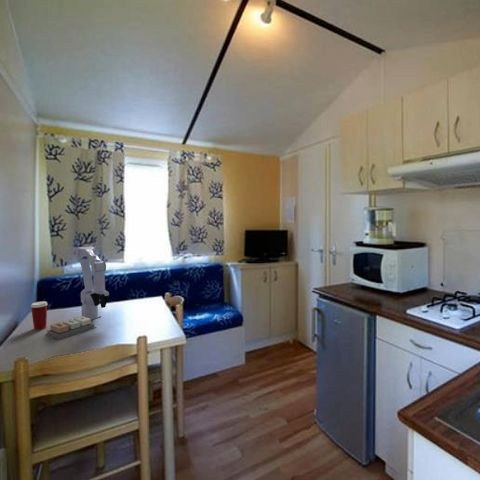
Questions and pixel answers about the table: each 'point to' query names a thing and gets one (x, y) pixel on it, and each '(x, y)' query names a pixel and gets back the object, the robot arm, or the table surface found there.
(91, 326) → the keypad board
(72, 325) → the key two
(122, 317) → the table surface
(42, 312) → the paper cup
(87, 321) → the key one
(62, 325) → the key three
